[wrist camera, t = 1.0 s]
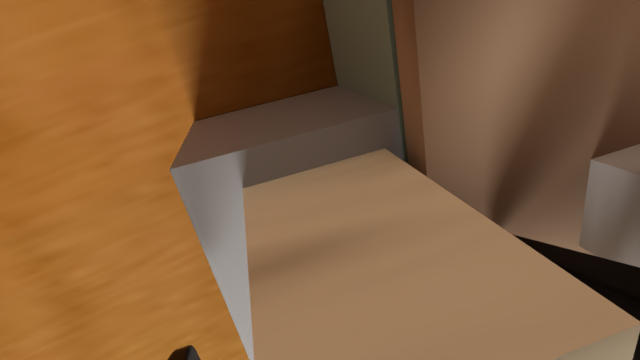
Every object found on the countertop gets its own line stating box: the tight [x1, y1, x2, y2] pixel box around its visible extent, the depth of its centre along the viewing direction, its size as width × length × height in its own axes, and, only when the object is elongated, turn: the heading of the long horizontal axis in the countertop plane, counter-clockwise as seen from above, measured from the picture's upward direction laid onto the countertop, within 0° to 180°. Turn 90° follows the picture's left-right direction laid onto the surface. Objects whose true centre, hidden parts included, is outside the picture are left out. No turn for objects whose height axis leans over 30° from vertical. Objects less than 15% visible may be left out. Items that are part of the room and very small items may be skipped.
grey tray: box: [170, 0, 408, 360], centre depth 14 cm, size 20×20×6 cm
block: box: [243, 148, 640, 360], centre depth 7 cm, size 6×4×6 cm, turn 12°
